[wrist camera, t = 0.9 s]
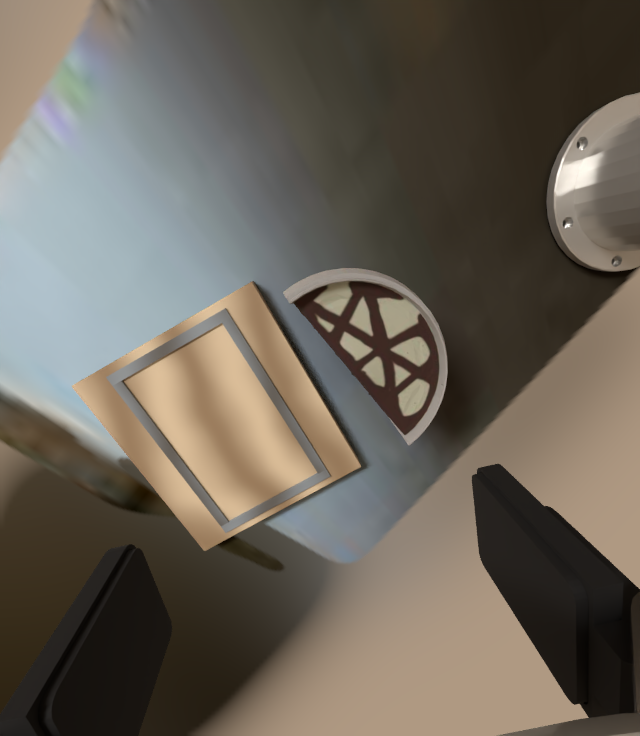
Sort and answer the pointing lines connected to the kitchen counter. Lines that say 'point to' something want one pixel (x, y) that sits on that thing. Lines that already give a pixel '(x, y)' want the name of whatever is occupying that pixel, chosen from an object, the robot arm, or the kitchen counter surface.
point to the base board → (221, 418)
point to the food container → (380, 340)
